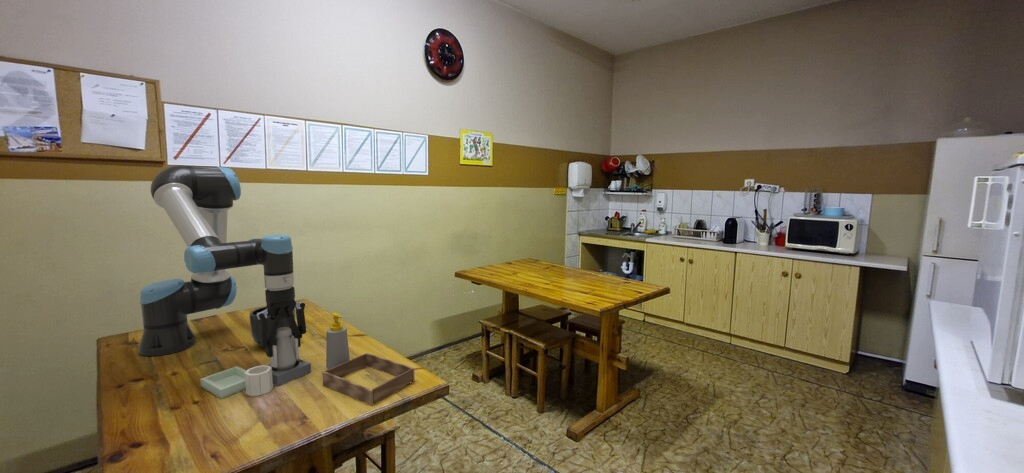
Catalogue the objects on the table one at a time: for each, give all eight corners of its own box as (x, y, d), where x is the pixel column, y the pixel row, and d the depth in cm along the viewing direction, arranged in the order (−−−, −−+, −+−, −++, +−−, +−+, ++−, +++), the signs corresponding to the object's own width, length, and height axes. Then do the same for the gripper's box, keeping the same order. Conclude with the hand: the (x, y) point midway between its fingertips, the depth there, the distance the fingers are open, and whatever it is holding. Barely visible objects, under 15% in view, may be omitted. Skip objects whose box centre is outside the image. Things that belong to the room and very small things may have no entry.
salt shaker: (286, 374, 118) (283, 332, 116) (269, 372, 119) (266, 330, 117) (300, 366, 124) (298, 325, 122) (284, 364, 125) (281, 324, 123)
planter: (300, 336, 153) (298, 303, 151) (292, 350, 140) (290, 314, 138) (258, 340, 148) (255, 306, 147) (246, 355, 135) (243, 318, 134)
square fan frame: (259, 377, 120) (258, 367, 119) (292, 364, 128) (291, 355, 128) (278, 386, 115) (277, 375, 114) (311, 372, 123) (310, 362, 123)
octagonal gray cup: (242, 392, 111) (241, 371, 111) (265, 383, 116) (263, 363, 116) (254, 398, 108) (252, 377, 107) (276, 388, 113) (275, 368, 113)
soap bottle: (332, 376, 121) (329, 319, 119) (322, 369, 126) (319, 313, 123) (354, 368, 126) (352, 313, 124) (344, 362, 131) (341, 309, 128)
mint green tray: (201, 387, 114) (200, 378, 114) (237, 373, 122) (237, 366, 122) (221, 398, 108) (220, 390, 107) (258, 384, 116) (258, 375, 116)
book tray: (322, 385, 116) (322, 371, 115) (367, 364, 129) (367, 352, 128) (371, 405, 105) (371, 391, 105) (414, 381, 118) (414, 368, 118)
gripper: (252, 296, 108) (258, 377, 111) (317, 282, 124) (321, 354, 127) (238, 292, 112) (244, 371, 115) (302, 279, 128) (306, 348, 131)
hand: (284, 362), depth 121 cm, fingers closed on salt shaker, 6 cm apart
